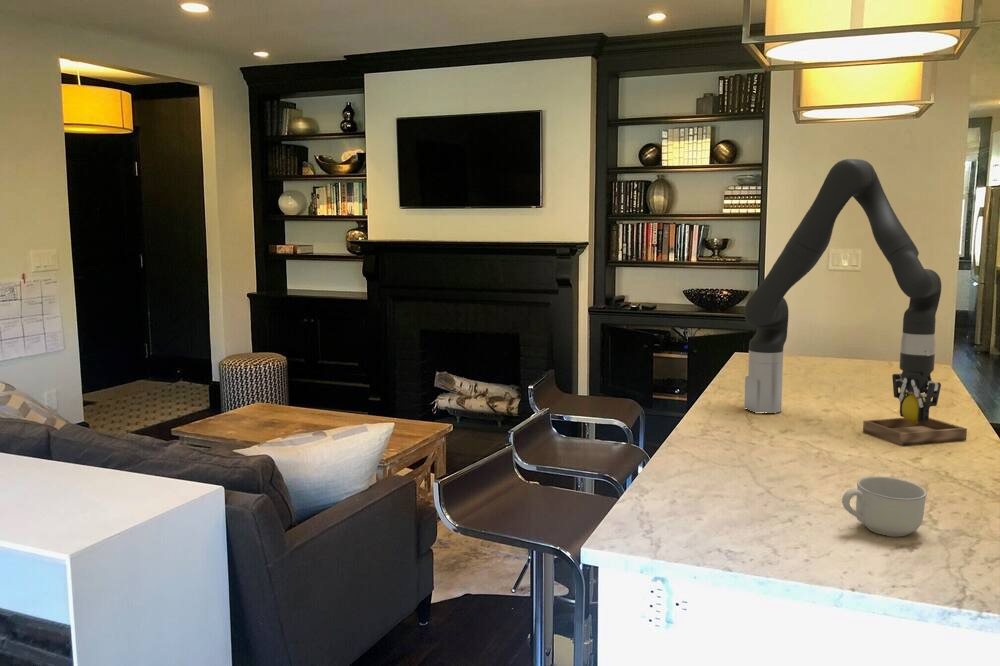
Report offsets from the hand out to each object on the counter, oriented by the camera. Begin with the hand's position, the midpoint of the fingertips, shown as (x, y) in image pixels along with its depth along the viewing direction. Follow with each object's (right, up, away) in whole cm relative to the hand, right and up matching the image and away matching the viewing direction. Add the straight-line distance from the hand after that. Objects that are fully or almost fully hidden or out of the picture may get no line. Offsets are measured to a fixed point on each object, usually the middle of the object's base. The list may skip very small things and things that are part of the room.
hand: (913, 419), depth 202 cm
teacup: (-37, -13, -62) cm, 73 cm away
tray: (0, -4, 0) cm, 4 cm away
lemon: (0, -2, 0) cm, 2 cm away
